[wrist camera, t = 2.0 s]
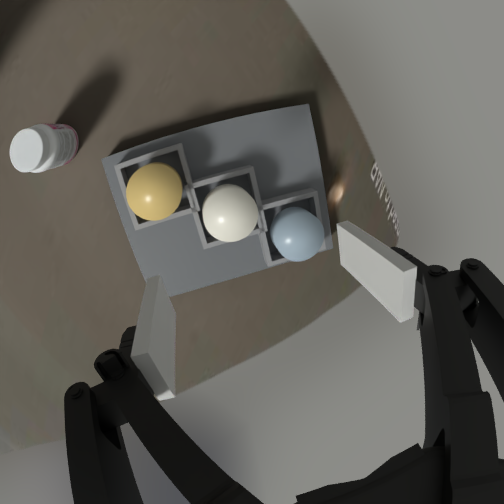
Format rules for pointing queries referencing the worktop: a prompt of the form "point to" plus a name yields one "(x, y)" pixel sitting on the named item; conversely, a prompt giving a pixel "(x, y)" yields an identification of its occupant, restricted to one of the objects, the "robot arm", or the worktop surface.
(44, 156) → the pill bottle
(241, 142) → the panel
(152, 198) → the ochre button
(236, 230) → the ivory button
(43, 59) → the worktop surface
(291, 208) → the slate button
